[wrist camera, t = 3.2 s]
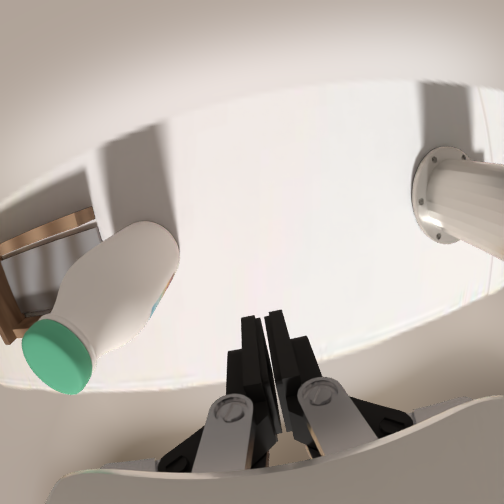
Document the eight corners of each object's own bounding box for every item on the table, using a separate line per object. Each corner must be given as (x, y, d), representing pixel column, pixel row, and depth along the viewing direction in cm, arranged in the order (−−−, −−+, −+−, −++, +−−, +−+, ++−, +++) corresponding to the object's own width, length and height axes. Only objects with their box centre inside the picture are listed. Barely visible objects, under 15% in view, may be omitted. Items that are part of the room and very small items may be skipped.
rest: (91, 206, 28) (63, 216, 22) (128, 313, 32) (110, 339, 27) (-7, 247, 29) (-31, 259, 23) (24, 325, 33) (5, 344, 28)
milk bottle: (113, 222, 29) (-15, 301, 10) (177, 217, 29) (78, 309, 10) (124, 285, 31) (34, 401, 12) (185, 283, 31) (127, 424, 12)
